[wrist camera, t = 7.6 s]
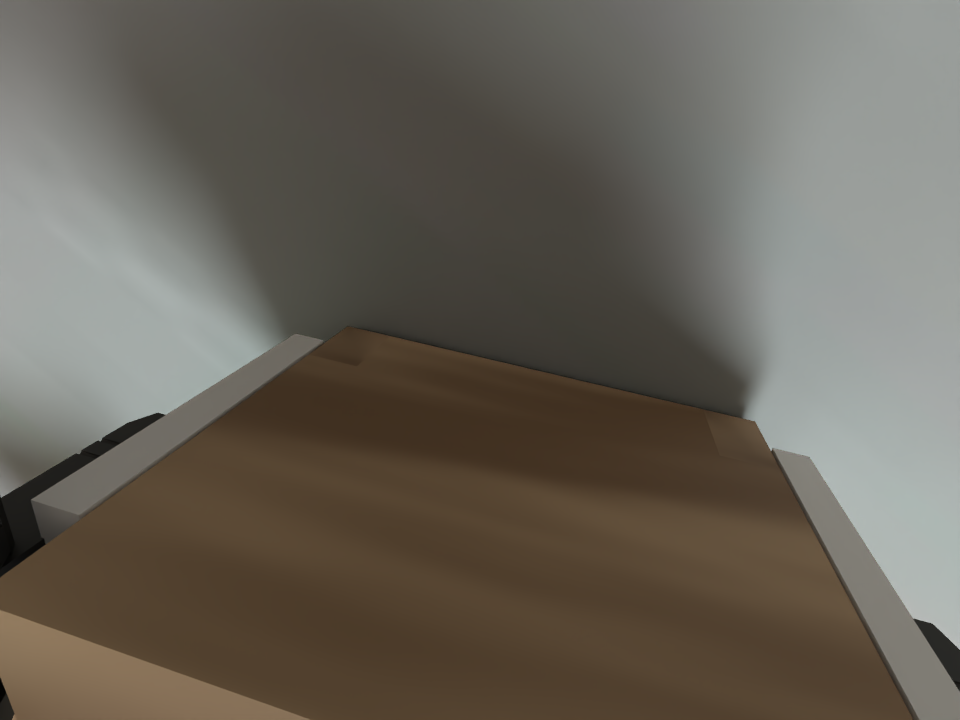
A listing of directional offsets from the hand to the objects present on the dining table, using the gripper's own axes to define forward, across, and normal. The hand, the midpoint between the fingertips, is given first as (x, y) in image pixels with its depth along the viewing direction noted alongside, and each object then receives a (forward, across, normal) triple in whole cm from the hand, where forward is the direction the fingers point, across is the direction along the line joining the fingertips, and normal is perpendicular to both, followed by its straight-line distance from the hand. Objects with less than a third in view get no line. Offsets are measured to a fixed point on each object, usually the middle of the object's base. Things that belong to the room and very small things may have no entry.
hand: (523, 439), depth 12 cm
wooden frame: (+1, 0, -10) cm, 10 cm away
